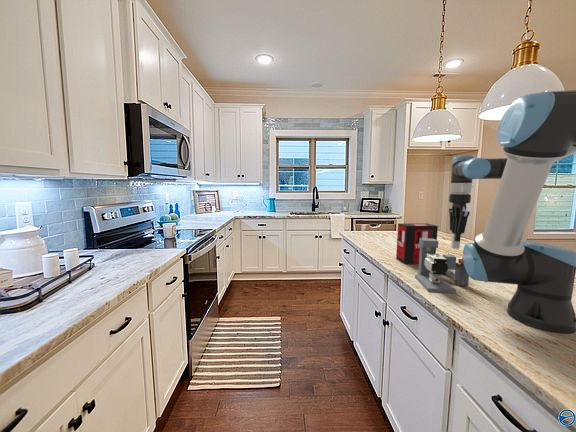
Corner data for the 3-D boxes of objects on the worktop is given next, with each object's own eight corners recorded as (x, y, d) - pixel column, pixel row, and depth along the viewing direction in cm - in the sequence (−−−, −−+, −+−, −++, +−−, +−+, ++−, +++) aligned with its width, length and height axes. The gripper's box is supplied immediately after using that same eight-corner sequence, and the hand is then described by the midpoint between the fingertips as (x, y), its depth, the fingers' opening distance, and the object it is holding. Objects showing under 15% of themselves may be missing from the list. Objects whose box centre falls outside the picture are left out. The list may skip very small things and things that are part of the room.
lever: (468, 286, 103) (470, 258, 101) (458, 285, 103) (461, 258, 102) (446, 270, 122) (448, 247, 121) (438, 269, 123) (440, 246, 121)
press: (479, 294, 95) (483, 250, 93) (427, 291, 98) (430, 248, 96) (450, 273, 118) (453, 237, 116) (409, 271, 121) (411, 236, 119)
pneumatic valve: (434, 277, 110) (437, 250, 108) (446, 288, 98) (449, 257, 97) (421, 276, 111) (423, 249, 109) (431, 287, 99) (433, 256, 98)
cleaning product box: (404, 264, 133) (406, 226, 130) (396, 259, 141) (398, 223, 139) (434, 263, 134) (437, 225, 131) (424, 258, 142) (427, 223, 140)
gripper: (478, 194, 100) (473, 252, 104) (462, 193, 113) (457, 244, 116) (458, 194, 102) (452, 251, 105) (443, 192, 114) (439, 244, 117)
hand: (455, 248), depth 110 cm, fingers closed
